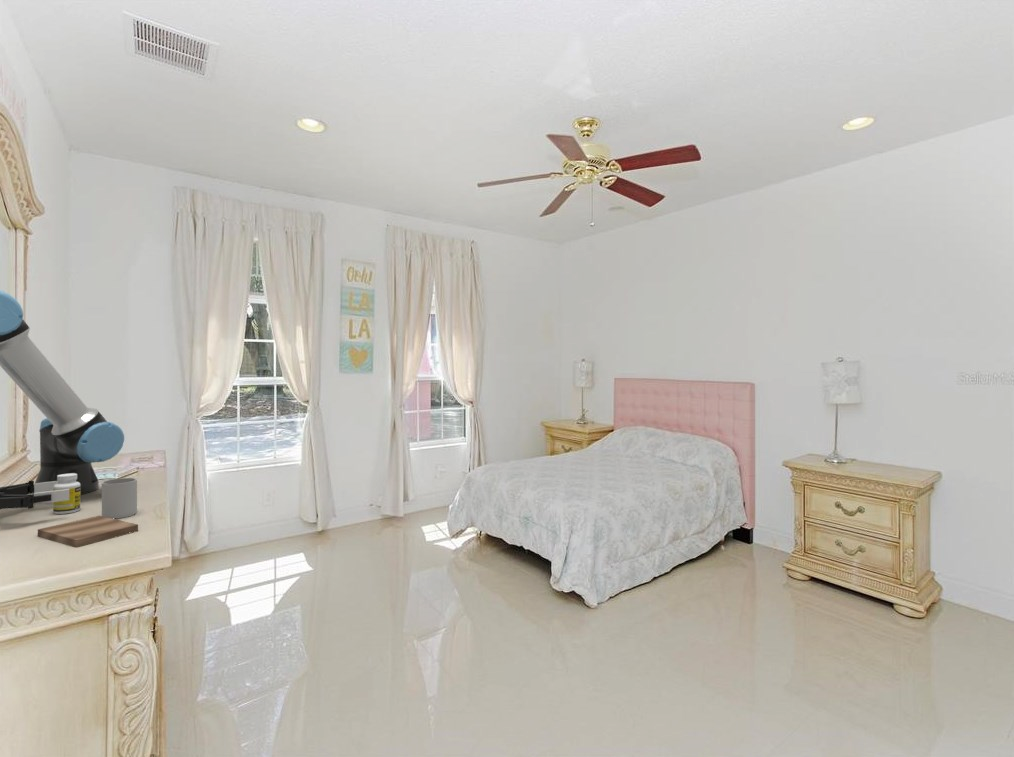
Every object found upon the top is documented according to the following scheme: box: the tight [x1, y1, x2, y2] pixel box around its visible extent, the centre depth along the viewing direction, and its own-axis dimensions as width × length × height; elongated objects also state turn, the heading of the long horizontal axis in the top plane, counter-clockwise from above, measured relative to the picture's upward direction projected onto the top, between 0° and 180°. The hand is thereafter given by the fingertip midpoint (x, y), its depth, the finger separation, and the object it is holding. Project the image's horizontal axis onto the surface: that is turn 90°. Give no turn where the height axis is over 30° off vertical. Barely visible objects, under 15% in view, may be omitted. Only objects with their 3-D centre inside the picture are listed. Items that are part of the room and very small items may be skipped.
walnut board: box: [37, 515, 139, 548], centre depth 115 cm, size 16×12×2 cm
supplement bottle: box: [52, 473, 82, 515], centre depth 132 cm, size 5×5×10 cm
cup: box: [101, 477, 138, 519], centre depth 130 cm, size 7×10×9 cm
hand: (68, 489), depth 132 cm, fingers open, 13 cm apart
